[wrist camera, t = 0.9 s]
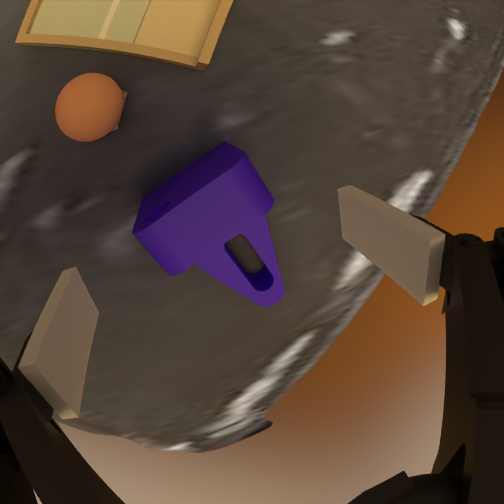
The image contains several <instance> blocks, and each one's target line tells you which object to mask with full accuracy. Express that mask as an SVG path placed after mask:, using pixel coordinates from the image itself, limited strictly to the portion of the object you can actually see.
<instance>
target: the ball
mask: <svg viewBox="0 0 504 504" xmlns="http://www.w3.org/2000/svg"><path fill="white" fill-rule="evenodd" d="M122 109H123V97H122V93H121V90H120V88H119V87H118V85H117V84H116V83H115V82H114V80H112V79H111V78H110V77H108V76H106V75H103V74H99V73H87V74H83V75H80V76H78V77H76V78H74V79H72V80H71V81H70V82H69V83H68V84H67V85H66V86H65V87H64V88H63V89H62V91H61V92H60V94H59V96H58V99H57V102H56V107H55V116H56V120H57V123H58V125H59V127H60V129H61V130H62V132H63V133H64V134H65V135H67V136H68V137H70V138H71V139H74V140H77V141H83V142H87V141H94V140H97V139H99V138H102V137H103V136H105V135H106V134H108V133H109V132H110V131H111V130H112V129H113V128H114V127H115V125H116V124H117V122H118V121H119V119H120V116H121V113H122Z"/></svg>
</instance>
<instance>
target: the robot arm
mask: <svg viewBox="0 0 504 504" xmlns="http://www.w3.org/2000/svg"><path fill="white" fill-rule="evenodd" d="M338 197H339V207H340V217H341V228H342V238H343V239H344V240H345V241H346V242H348V243H349V244H350V245H351V246H353V247H354V248H355V249H356V250H358V251H359V252H360V253H361V254H363V255H364V256H365V257H366V258H368V259H369V260H370V261H371V262H372V263H374V264H375V265H376V266H377V267H378V268H380V269H381V270H382V271H383V272H384V273H386V274H387V275H388V276H389V277H390V278H392V279H393V280H394V281H396V283H398V284H399V285H400V286H401V287H402V288H403V289H405V290H406V291H407V292H408V293H409V294H410V295H412V296H413V297H414V298H415V299H416V300H417V301H419V303H421V304H422V305H423V306H424V305H426V304H428V303H430V302H432V301H434V300H436V299H437V298H438V291H439V285H440V286H442V287H443V288H444V289H445V290H446V292H445V298H444V304H443V309H442V314H444V312H445V317H446V380H445V397H444V410H443V421H442V430H441V438H440V446H439V450H438V454H437V457H436V460H435V463H434V465H433V469H432V472H431V474H422V475H417V476H412V477H408V476H407V474H406V473H405V471H402V472H401V473H399V474H397V475H395V476H393V477H392V478H390V479H388V480H386V481H384V482H382V483H380V484H379V485H376V486H374V487H372V488H370V489H368V490H366V491H364V492H363V493H361V494H360V495H359V496H358V497H356V498H355V499H353V500H352V501H351V502H350V503H348V504H504V227H501V228H497V229H496V230H495V233H494V239H493V240H492V241H486V242H483V240H482V239H481V238H479V237H478V236H475V235H473V234H467V233H464V234H458V235H456V236H454V235H452V234H450V233H448V232H447V231H445V230H443V229H441V228H439V227H437V226H435V225H434V224H432V223H430V222H428V221H427V220H425V219H423V218H421V217H418V216H414V215H411V214H408V213H406V212H404V211H402V210H400V209H398V208H396V207H394V206H392V205H390V204H388V203H386V202H384V201H382V200H380V199H378V198H376V197H374V196H372V195H370V194H368V193H366V192H364V191H362V190H360V189H358V188H356V187H354V186H352V185H349V186H345V187H341V188H338ZM98 315H99V311H98V310H97V308H96V306H95V304H94V302H93V300H92V298H91V296H90V294H89V292H88V290H87V288H86V286H85V284H84V282H83V280H82V278H81V276H80V274H79V272H78V270H77V268H76V267H73V268H70V269H67V270H64V271H63V272H62V274H61V276H60V278H59V279H58V281H57V283H56V285H55V287H54V289H53V291H52V293H51V295H50V297H49V299H48V301H47V303H46V305H45V307H44V309H43V311H42V313H41V315H40V317H39V319H38V322H37V324H36V326H35V328H34V330H33V331H32V332H31V333H30V335H29V336H28V337H27V338H26V340H25V343H24V345H23V349H22V350H21V352H20V356H19V357H18V359H17V362H16V364H15V367H14V369H13V372H11V370H10V369H9V368H8V366H7V365H6V364H5V362H4V361H3V360H2V359H1V358H0V504H38V503H37V500H36V497H35V494H34V491H35V492H36V494H37V496H38V497H39V499H40V501H41V502H42V504H125V503H124V502H123V501H122V500H121V499H120V498H119V497H118V496H117V495H116V494H115V493H114V492H113V491H112V490H111V489H110V488H109V487H108V486H107V484H106V483H105V482H104V481H103V480H102V479H101V478H100V477H99V476H98V474H97V473H96V472H95V471H94V470H93V469H92V468H91V467H90V465H89V464H88V463H87V462H86V461H85V459H84V458H83V457H82V456H81V454H80V453H79V452H78V451H77V449H76V448H75V447H74V445H73V444H72V443H71V442H70V440H69V439H68V438H67V436H66V435H65V434H64V432H63V431H62V430H61V428H60V427H59V425H58V424H57V423H56V422H55V421H54V420H53V419H52V414H53V410H54V411H55V412H56V413H57V414H58V415H59V416H60V417H61V418H62V419H70V418H77V417H79V412H80V405H81V398H82V392H83V386H84V381H85V375H86V370H87V365H88V360H89V355H90V350H91V345H92V341H93V336H94V332H95V328H96V323H97V319H98ZM33 489H34V491H33Z"/></svg>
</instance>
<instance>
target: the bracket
mask: <svg viewBox="0 0 504 504" xmlns="http://www.w3.org/2000/svg"><path fill="white" fill-rule="evenodd" d="M273 204H274V198H273V197H272V195H271V193H270V192H269V190H268V189H267V187H266V185H265V184H264V182H263V180H262V179H261V177H260V176H259V174H258V172H257V171H256V169H255V168H254V166H253V165H252V163H251V161H250V160H249V158H248V157H247V155H246V154H245V152H244V151H242V150H240V149H238V148H236V147H234V146H233V145H231V144H229V143H227V142H224V143H222V144H221V145H219V146H218V147H216V148H215V149H213V150H212V151H210V152H209V153H207V154H206V155H204V156H203V157H201V158H200V159H198V160H197V161H195V162H194V163H193V164H191V165H190V166H188V167H187V168H185V169H184V170H183V171H181V172H180V173H178V174H177V175H176V176H174V177H173V178H171V179H170V180H169V181H167V182H166V183H165V184H163V185H162V186H161V187H159V188H158V189H156V190H155V191H154V192H152V193H151V194H150V195H148V196H147V197H146V198H145V199H143V200H142V202H141V205H140V208H139V212H138V215H137V218H136V221H135V224H134V228H133V231H132V233H133V234H134V236H135V237H136V238H137V239H138V240H139V241H140V243H141V244H142V245H143V246H144V247H145V249H146V250H147V251H148V252H149V253H150V254H151V256H152V257H153V258H154V259H155V260H156V261H157V262H158V264H159V265H160V266H161V267H162V268H163V269H164V270H165V272H166V273H167V274H168V275H176V274H179V273H181V272H183V271H185V270H186V269H188V268H189V267H191V266H192V265H196V266H197V267H199V268H200V269H202V270H204V271H205V272H207V273H208V274H210V275H211V276H213V277H214V278H216V279H218V280H219V281H221V282H222V283H224V284H226V285H227V286H229V287H230V288H232V289H233V290H235V291H237V292H238V293H240V294H241V295H243V296H245V297H246V298H248V299H249V300H251V301H253V302H254V303H256V304H258V305H259V306H263V307H268V306H272V305H274V304H276V303H277V302H279V301H280V299H281V298H282V296H283V294H284V287H283V283H282V279H281V275H280V271H279V267H278V263H277V259H276V255H275V251H274V247H273V243H272V239H271V235H270V232H269V228H268V224H267V220H266V216H265V214H267V212H268V211H269V210H270V209H271V208H272V206H273ZM237 234H242V235H244V236H245V237H246V238H247V239H248V241H249V242H250V244H251V245H252V246H253V248H254V249H255V251H256V252H257V254H258V255H259V256H260V258H261V259H262V261H263V262H264V266H263V268H262V270H261V271H260V272H258V273H256V274H250V273H247V272H246V271H245V269H244V268H243V267H242V265H241V264H240V263H239V261H238V260H237V259H236V257H235V256H234V255H233V253H232V252H231V251H230V249H229V248H228V247H227V245H226V244H225V243H226V242H227V241H229V240H230V239H232V238H233V237H234V236H236V235H237Z"/></svg>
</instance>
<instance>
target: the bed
mask: <svg viewBox="0 0 504 504" xmlns="http://www.w3.org/2000/svg"><path fill="white" fill-rule="evenodd" d="M232 2H233V0H32V1H31V3H30V5H29V8H28V10H27V12H26V15H25V17H24V20H23V22H22V25H21V28H20V30H19V33H18V36H17V39H16V42H15V43H17V44H20V45H25V46H51V47H65V48H76V49H86V50H95V51H102V52H110V53H116V54H123V55H129V56H135V57H140V58H146V59H151V60H156V61H161V62H165V63H170V64H174V65H179V66H183V67H187V68H191V69H195V70H199V71H203V72H204V70H205V69H206V68H207V66H208V65H209V62H210V59H211V57H212V54H213V51H214V48H215V46H216V43H217V40H218V37H219V35H220V32H221V30H222V27H223V24H224V22H225V19H226V17H227V14H228V12H229V9H230V7H231V5H232Z"/></svg>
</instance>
